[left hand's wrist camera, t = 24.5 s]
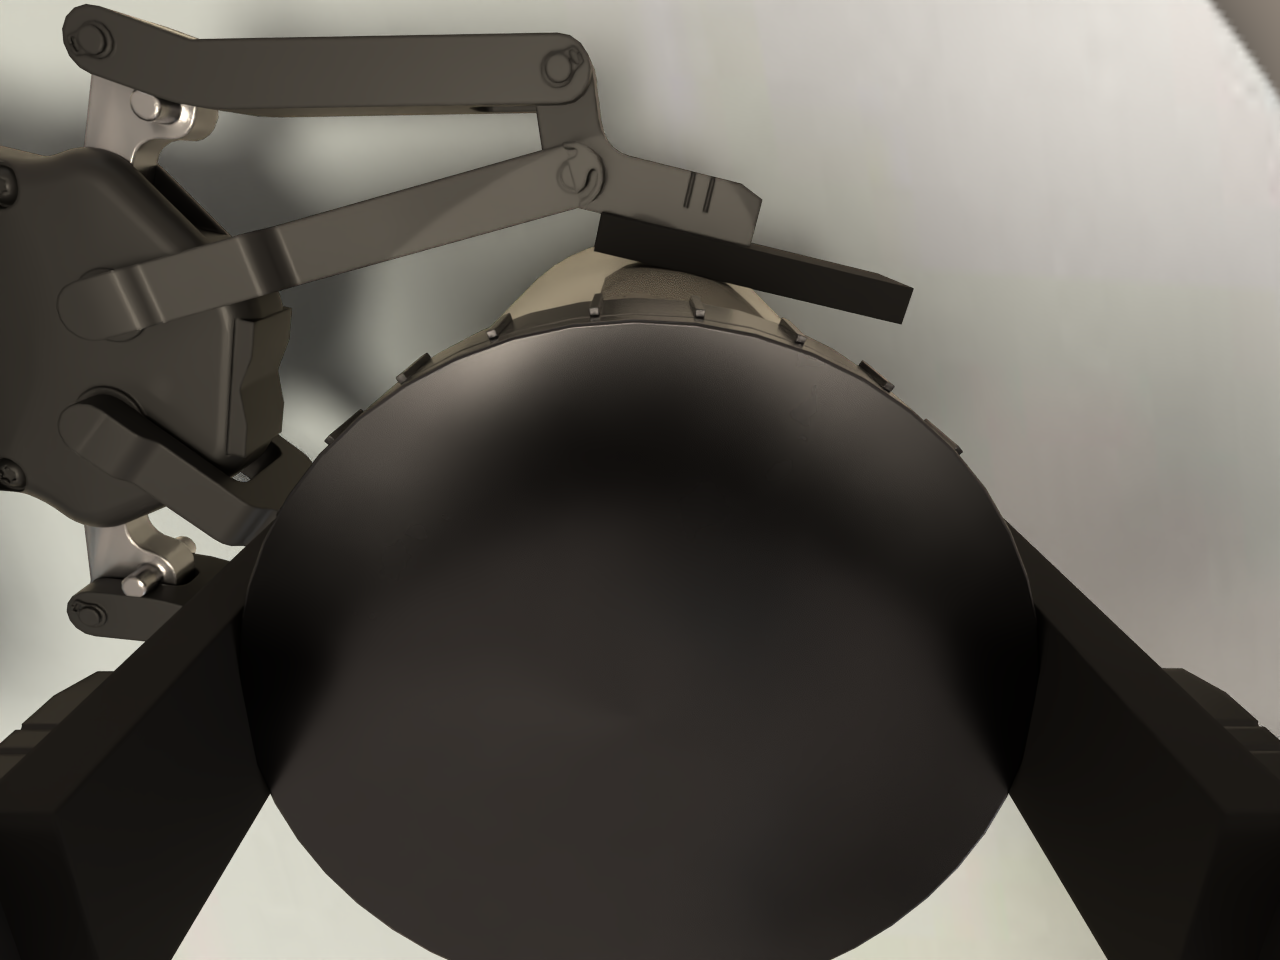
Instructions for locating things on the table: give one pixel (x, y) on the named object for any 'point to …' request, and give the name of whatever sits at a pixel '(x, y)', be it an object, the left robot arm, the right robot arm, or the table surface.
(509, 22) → the table surface
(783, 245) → the table surface
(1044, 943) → the table surface
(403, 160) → the table surface
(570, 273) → the jar
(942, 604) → the lid
